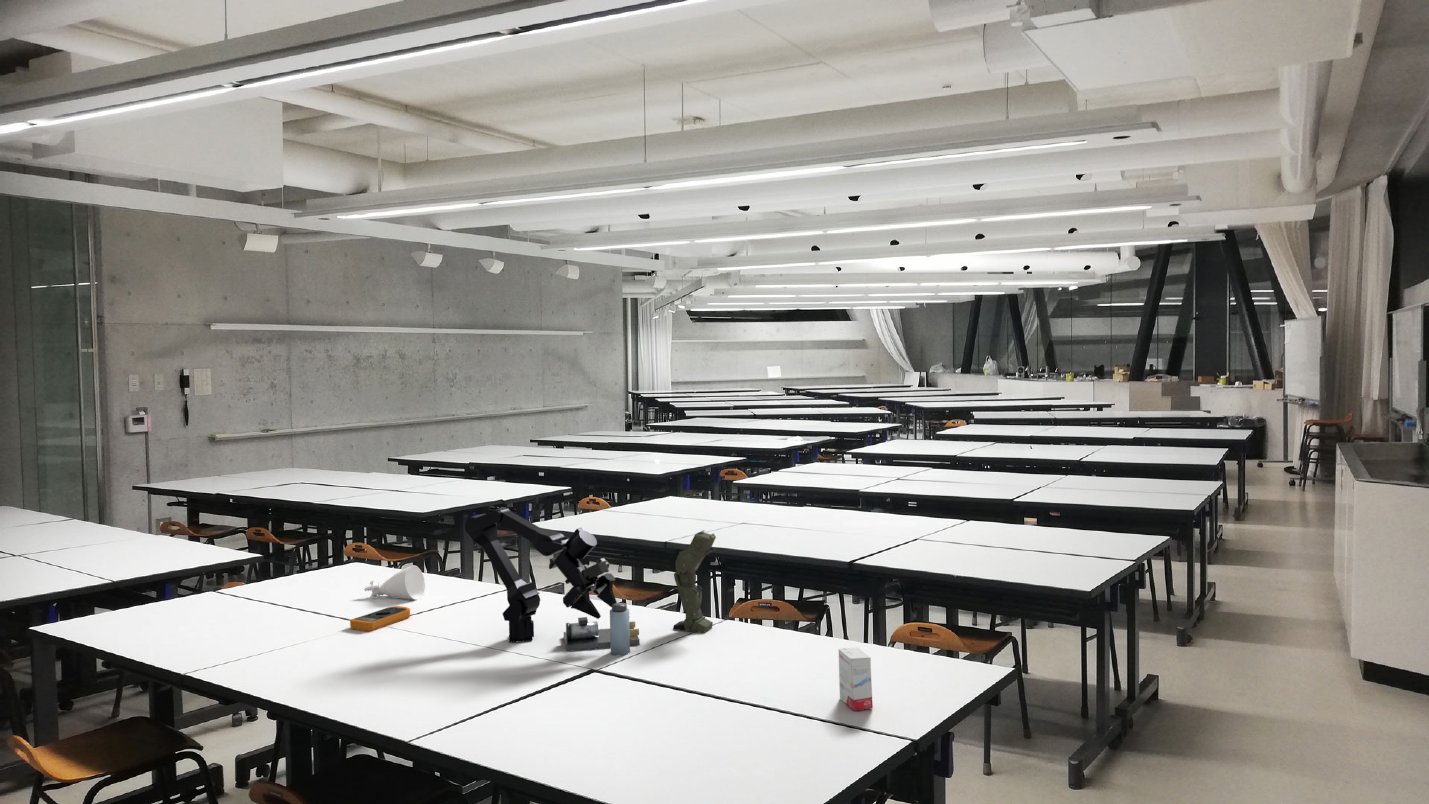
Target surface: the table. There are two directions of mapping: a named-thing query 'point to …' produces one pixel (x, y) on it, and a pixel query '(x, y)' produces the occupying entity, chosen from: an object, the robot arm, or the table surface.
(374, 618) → the multimeter
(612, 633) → the bottle
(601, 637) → the plate
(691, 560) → the mechanical leg
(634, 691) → the table surface
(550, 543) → the robot arm
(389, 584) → the rocket engine
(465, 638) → the table surface
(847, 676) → the ink box
